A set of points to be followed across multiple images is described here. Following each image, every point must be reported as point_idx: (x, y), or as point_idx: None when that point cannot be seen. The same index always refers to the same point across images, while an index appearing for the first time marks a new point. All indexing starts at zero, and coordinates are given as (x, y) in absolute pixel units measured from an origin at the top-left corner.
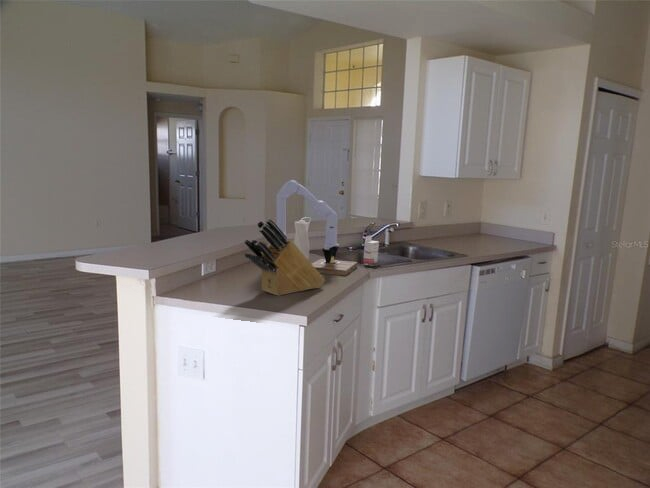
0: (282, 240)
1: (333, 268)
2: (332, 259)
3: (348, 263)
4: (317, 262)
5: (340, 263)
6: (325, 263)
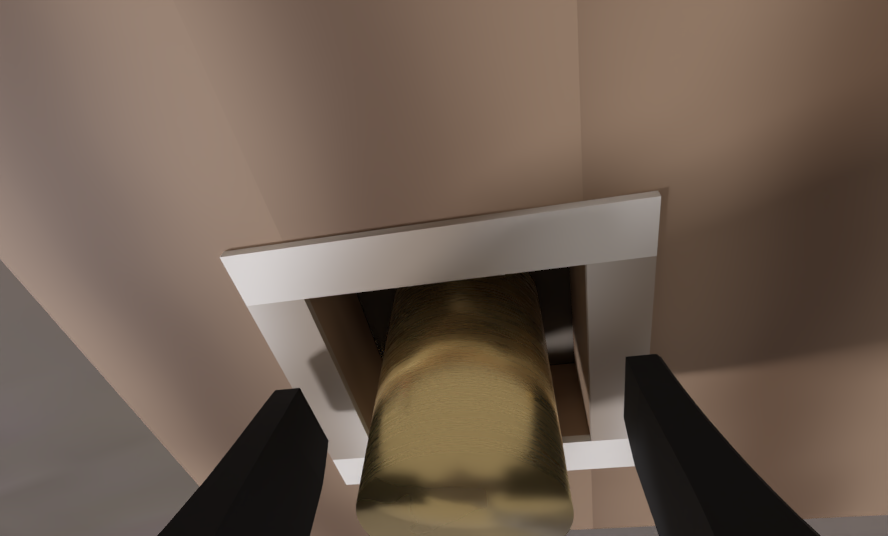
0: None
1: None
2: (512, 405)
3: (113, 5)
4: None
5: (322, 201)
6: None
